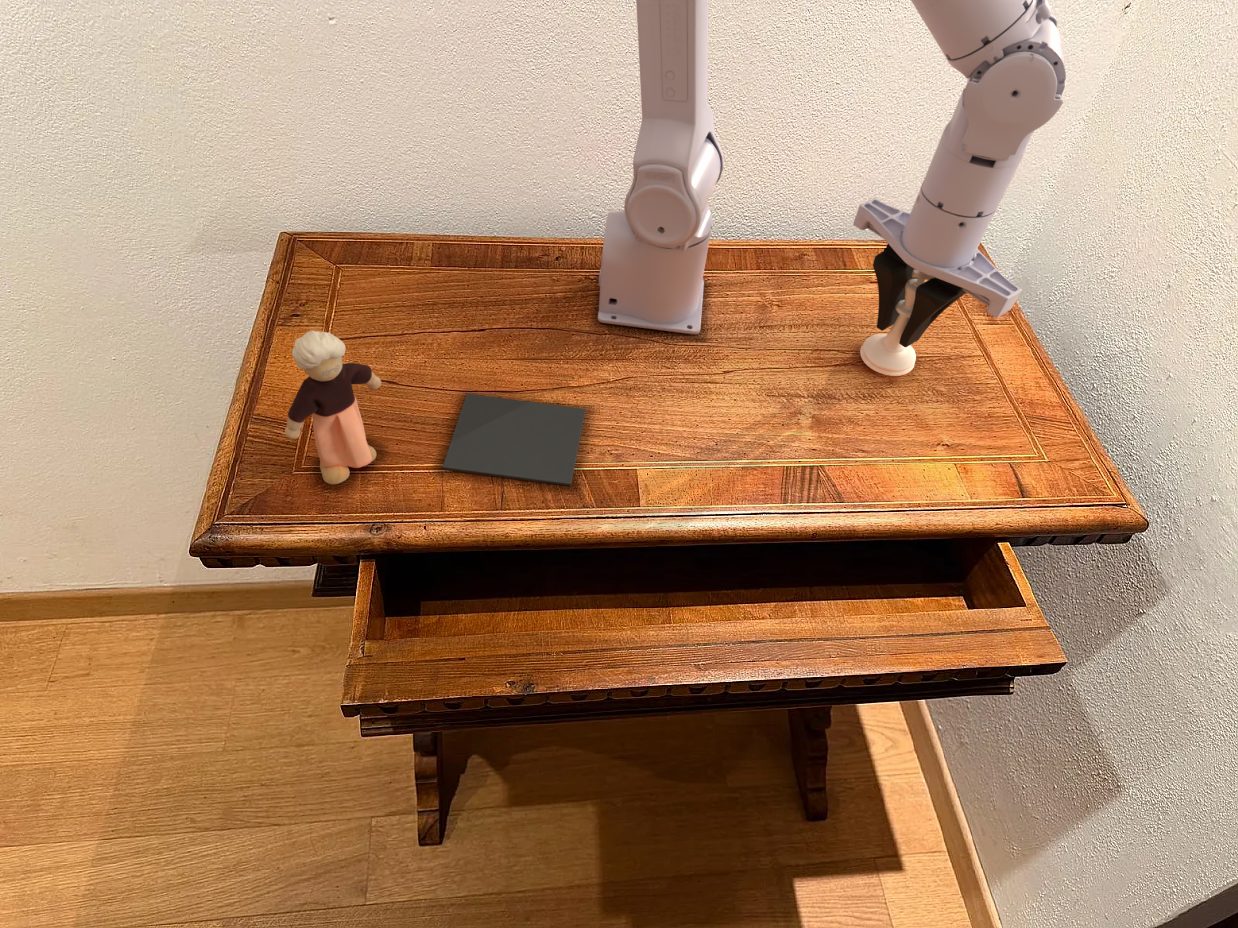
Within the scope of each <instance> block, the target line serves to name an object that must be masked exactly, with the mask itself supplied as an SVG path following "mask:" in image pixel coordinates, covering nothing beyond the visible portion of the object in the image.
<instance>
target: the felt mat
mask: <svg viewBox="0 0 1238 928" xmlns="http://www.w3.org/2000/svg"><path fill="white" fill-rule="evenodd" d="M585 414H586V408H582V407H576V406H575V407H574V406H566V405H560V404H551V403H543V402H535V401H528V400H522V399H521V400H520V399H513V398H505V397H497V396H488V395H482V394H474V393H466V395H465V398H464V400H463V404H462V407H461V410H460V412H459V416H458V419H457V422H456V425H455V428H454V431H453V433H452V437H451V439H450V443H449V446H448V449H447V452H446V455H445V457H444V461H443V465H442V470H444V471H451V472H452V471H453V472H460V473H465V474H467V473H469V474H473V475H474V474H475V475H481V476H489V477H490V476H491V477H497V478H504V479H512V480H513V479H514V480H521V481H529V482H536V483H543V484H551V485H557V486H565V487H566V486H567V487H571V486H572V482H573V477H574V472H575V468H576V467H575V466H576V461H577V457H578V452H579V446H580V441H581V435H582V430H583V425H584V420H585V416H586V415H585Z"/></svg>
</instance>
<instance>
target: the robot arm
mask: <svg viewBox="0 0 1238 928" xmlns="http://www.w3.org/2000/svg"><path fill="white" fill-rule="evenodd" d="M635 1H636V2H635V3H636V23H637V25H636V26H637V42H638V44H637V45H638V62H639V63H638V64H639V83H640V84H639V85H640V101H641V102H640V103H641V123H640V127H639V132H638V137H637V141H636V144H635V145H636V146H635V149H634V155H633V159H632V170H633V171H632V172H633V173H632V174H633V177H632V183H631V185H630V187H629V189H628V191H627V193H626V195H625V198H624V206H623V208H624V209H623V210H610V211H608V213H607V216H606V217H607V218H606V222H605V229H604V233H603V234H604V235H603V242H602V253H601V266H600V269H599V275H598V287H599V298H598V300H599V302H598V313H597V321H598V322H599V323H602V324H608V325H609V324H611V325H617V326H625V327H633V328H642V329H648V330H658V331H666V332H671V333H681V334H688V335H699V334H700V332H701V326H702V312H703V298H704V288H705V287H704V286H705V280H704V273H705V269H706V263H707V258H708V251H709V245H710V241H711V235H712V229H713V224H714V221H713V220H714V219H713V216H712V213H711V210H710V206H709V200H710V199H711V196H712V194H713V191H714V189H715V186H716V185H717V183H718V182H719V181H720V179H721V177H722V175H723V172H724V168H725V157H724V152H723V148H722V147H721V145H720V142H719V141H718V138H717V135H716V132H715V126H714V125H715V114H714V112H713V110H712V108H711V107H710V105H709V103H708V92H709V91H708V90H709V88H708V87H709V83H708V82H709V81H708V79H709V73H708V72H709V9H710V7H709V1H710V0H635ZM910 1H911V3H912V5H913V6H914V8H915V9H916V11H917V13H918V14H919V16H920V18H921V19H922V21H923V22H924V24H925V26H926V27H927V29H928V31H929V33H930V35H931V36H932V38H933V39H934V41H935V43H936V44H937V46H938V47H939V49H940V50H941V52H942V54H943V55H944V57H945V59H946V61H947V62H948V64H949V66H951V67H952V68H953V69H955V70H956V71H958V72H959V73H960V74H962V75H963V76H964V77H965V79H967V82H966V85H965V87H964V88H963V89H962V92H961V94H960V97H959V99H958V102H957V104H956V106H955V108H954V111H953V114H952V116H951V119H950V120H949V121H948V122H947V124H946V126H945V127H944V129H943V132H942V134H941V136H940V139H939V142H938V144H937V146H936V148H935V151H934V154H933V156H932V159H931V161H930V164H929V166H928V169H927V171H926V173H925V176H924V178H923V181H922V184H921V186H920V188H919V191H918V193H917V195H916V198H915V201H914V203H913V206H912V208H911V211H910V212H907V211H905V210H902V209H899V208H897V207H894V206H892V205H890V204H887V203H884V202H883V201H881V200H879V199H877V198H875V197H873V198H871V199H869V200H867V201H866V202H863V203H861V204H859V206H858V209H857V211H856V215H855V217H854V220H853V223H852V225H853V226H854V227H856V228H857V229H859V230H860V231H864V230H867V229H868V230H869V231H871V232H872V233H874V234H875V235H876V236H878V237H880V238H881V239H883V240H884V241H886V246H885V247H884V249H883V251H881V252H880V253H878V254H876V255H875V256H874V259H873V261H872V268H873V270H874V274H875V278H876V282H877V290H878V309H877V310H878V311H877V319H876V320H877V321H876V328H877V329H878V330H879V331H881V332H883V331H885V330H886V329H888V328H890V327H892V326H893V324H894V323H895V321H896V320H897V318H898V316H899V313H898V312H897V310H896V304H897V303H898V302H899V301H901V300H905V285H906V282H907V281H908V280H911V279H918V278H915V277H912V272H913V270H918V271H920V272H923V273H925V274H928V275H930V276H933V277H934V278H933V279H932V278H931V279H930V280H925V282H924V283H923V284H921V285H919V286H918V287H917V289H916V293H915V301H914V306H913V309H912V313H911V316H910V318H909V321H908V323H907V325H906V327H905V329H904V331H903V333H902V335H901V338H900V342H899V344H901V345H902V346H903V347H908V346H909V345H911V346H912V345H913V344H915V343H916V342H918V341H919V340H920V339H921V337H922V336H923V334H924V333H925V332H926V330H927V329H928V328H929V327H930V326H931V324H932V323H933V322H934V321H935V320H936V319H937V318H939V316H940V315H941V314H942V313H943V312H945V310H947V309H948V308H949V307H950V306H951V305H953V304H954V303H955V302H956V301H958V300H959V299H961V298H962V297H963V296H964V295H965V294H968V295H969V296H971V297H972V298H974V299H975V300H977V301H979V302H980V303H982V304H983V305H985V306H987V308H986V312H987V313H988V314H989V315H991V316H993V318H996V319H998V318H1000V317H1002V316H1003V315H1004V314H1006V313H1008V312H1009V311H1010V310H1012V308H1013V306H1014V305H1015V303H1016V301H1017V300H1018V298H1019V296H1020V294H1021V292H1022V291H1023V290H1022V288H1020V287H1019V286H1017V285H1016V284H1014V283H1013V282H1012V281H1011V280H1009V279H1008V278H1007V277H1006V276H1005V275H1004V274H1003V273H1002V272H1001V271H1000V270H999V269H998V268H997V267H996V266H995V265H994V264H993V263H992V262H991V261H990V260H989V259H988V258H987V257H986V256H985V255H984V254H983V253H982V252H981V251H980V250H979V246H980V244H981V242H982V240H983V238H984V236H985V234H986V232H987V230H988V228H989V226H990V224H991V222H992V220H993V218H994V216H995V214H996V213H997V210H998V208H999V206H1000V205H1001V202H1002V200H1003V198H1004V196H1005V194H1006V192H1007V190H1008V188H1009V186H1010V184H1011V182H1012V181H1013V178H1014V176H1015V174H1016V172H1017V170H1018V169H1019V166H1020V165H1021V162H1022V160H1023V158H1024V156H1025V154H1026V151H1027V146H1028V145H1029V142H1030V139H1031V138H1032V136H1033V135H1034V133H1035V131H1037V130H1038V129H1040V128H1042V127H1043V126H1045V125H1046V124H1047V123H1048V122H1050V120H1052V118H1053V117H1055V115H1056V114H1057V113H1058V112H1059V110H1060V109H1061V107H1062V106H1063V104H1064V101H1063V99H1062V96H1063V92H1064V90H1065V88H1066V87H1065V86H1066V84H1065V82H1066V79H1067V75H1066V63H1065V57H1064V56H1065V54H1064V47H1063V39H1062V36H1061V33H1060V31H1059V29H1058V19H1057V17H1056V16H1055V15H1054V14H1052V7H1051V5H1050V3H1049V1H1048V0H910Z"/></svg>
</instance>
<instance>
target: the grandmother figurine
mask: <svg viewBox="0 0 1238 928" xmlns="http://www.w3.org/2000/svg"><path fill="white" fill-rule="evenodd" d="M346 350H347V349H346V345H345V343H344V342H343V341H342V340H341V339H340V338H338V337H337V336H335V335H334V334H332V333H331V332H326V331H322V330H321V331H320V330H319V331H318V330H310V331H307V332H306V333H304V334H303V335H302V336H301V337H299V338H297V339H295V341H294V345H293V349H292V351H291V355H292V359H294V362H295V363H296V365H297V368H298V369H300V370H303V371H304V372H305V374H306V375H307V377H306V378H305V379H304V380H303V381H302V383H301V385H300V387H299V388H298V390H297V393H296V395H295V396H294V399H293V401H292V403H291V405H290V407H289V409H288V412H287V421H286V427H285V429H284V435H285V436H286V437H287V439H290V440H296V439H298V438H299V437H300V435H301V428H303V425H304V422H305V420H306V419H308V418H309V417H310V416H311V417H312V427H313V434H314V443H315V446H316V447H315V448H316V450H317V453H318V457H319V462H320V463H319V469H320V472H321V476H322V479H323V481H324V483H326V484H329V485H338V484H341V483H343V482H345V481H346V480H347V479H349V477H350V473H351V472H350V469H349V468H354V469H359V468H362V467H366V466H368V465H369V464H371V463H372V462H374V461H375V459H376V458H377V451H376V449H375V448H374V447H373V446H371V445H369V444H368V441H367V436H366V429H365V426H364V422H363V418H362V415H361V412H360V408H359V403H358V399H357V397H356V395H355V394H354V389H353V385H366V386H367V387H368V388H369V389H370V390H378V389H379V388H380V387H381V385H382V380H381V378H380V377H378V376H377V375H376V374H375V373H374V372H373V371H372V368H371V366H370V365H368V364H362V363H358V362H357V363H356V362H347V363H346V362H345V363H343V361H344V360H343V357H344V355H345V353H346Z"/></svg>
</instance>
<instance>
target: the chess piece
mask: <svg viewBox="0 0 1238 928" xmlns="http://www.w3.org/2000/svg"><path fill="white" fill-rule="evenodd" d="M912 277H915V278H918V279H911V280H908V281H907V282H906V285H905V300H901V301H899V302H898V303H897V304H896V310H897V312H898V313H899V316H898V318H897V320H896V321H895V323H894V324H893V325H891V328H890V329H889V330H888V333H877V334H872V335H870V336H869V337H867V338H866V339H865V340H864V342H863V344H862V345H861V347H860V350H859V355H860V358H861V360H862V361H863V363H864V364H865V365H866V366H867V367H869V368H870V369H871V370H873V371H875V372H877V373H879V374H881V375H884V376H890V377H899V376H904V375H906V374H908V373H910V372H911V371H913V369H914V367H915V363H916V361H917V354H916V351H915V349H914V348H913V346H912V344H911V345H909V346H908V347H903V346H902V345H901V344H899V342H900V338H901V335H902V333H903V331H904V329H905V327H906V325H907V323H908V321H909V318H910V316H911V313H912V309H913V306H914V301H915V293H916V289H917V287H918V286H919V285H921V284H923V283H924V282H926V281H928V280H930V279H931V278H932V279H933V278H934V277H933V276H930V275H928V274H925V273H923V272H920V271H918V270H913V272H912Z"/></svg>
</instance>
